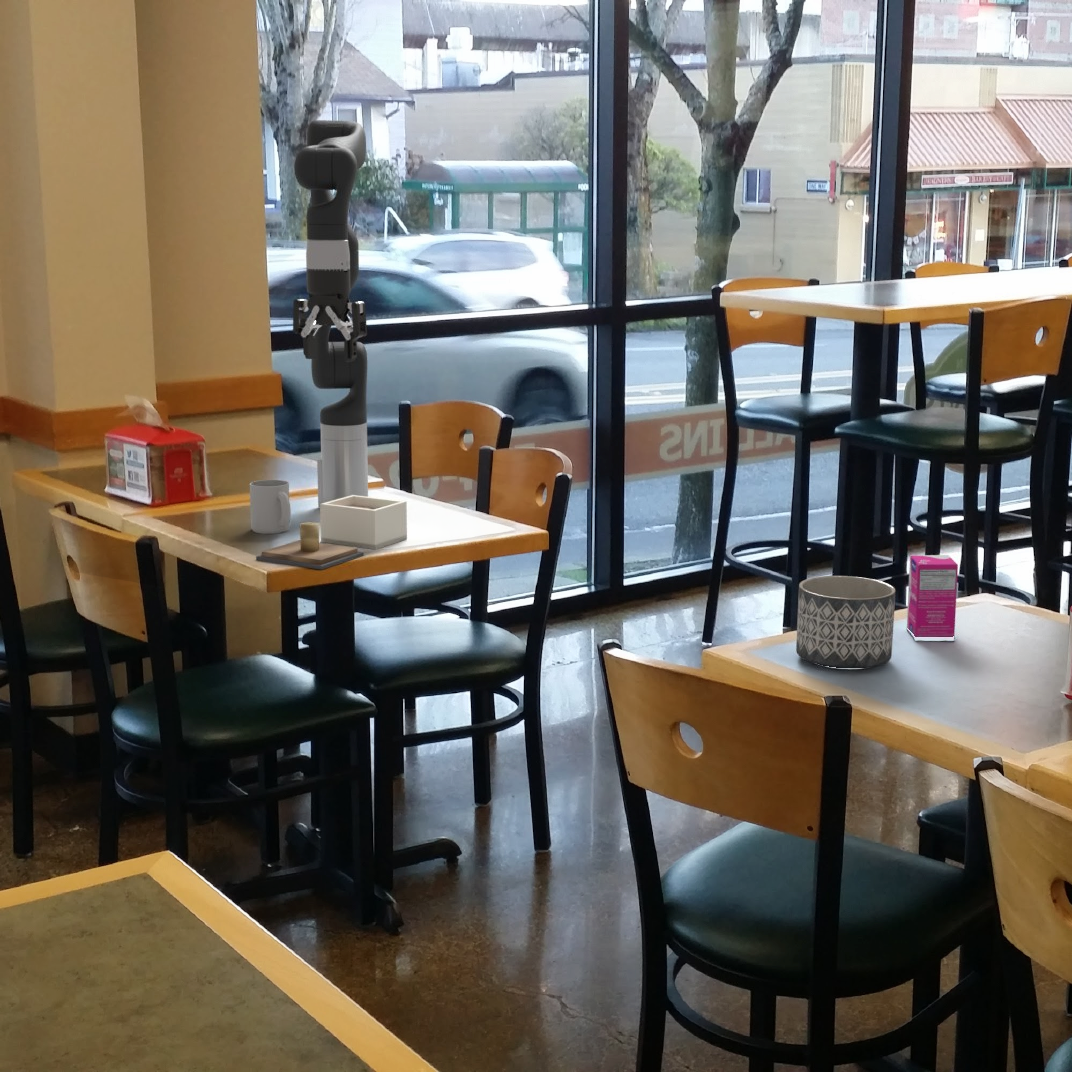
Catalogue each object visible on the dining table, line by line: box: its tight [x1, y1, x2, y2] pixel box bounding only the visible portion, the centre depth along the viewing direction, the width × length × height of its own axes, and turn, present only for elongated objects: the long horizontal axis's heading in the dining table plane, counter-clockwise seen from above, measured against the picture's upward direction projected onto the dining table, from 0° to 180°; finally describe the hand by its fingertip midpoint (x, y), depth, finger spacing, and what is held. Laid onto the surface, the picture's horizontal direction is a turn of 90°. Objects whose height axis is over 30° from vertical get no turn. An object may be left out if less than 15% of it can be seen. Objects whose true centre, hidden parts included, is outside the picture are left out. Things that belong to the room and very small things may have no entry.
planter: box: [795, 575, 896, 669], centre depth 203 cm, size 13×13×10 cm
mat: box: [255, 551, 365, 570], centre depth 261 cm, size 14×12×1 cm
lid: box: [261, 521, 359, 565], centre depth 261 cm, size 13×11×5 cm
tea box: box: [319, 495, 408, 550], centre depth 274 cm, size 12×10×7 cm
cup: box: [249, 479, 292, 535], centre depth 281 cm, size 7×10×9 cm
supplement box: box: [906, 554, 959, 637], centre depth 215 cm, size 6×6×12 cm
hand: (330, 360), depth 265 cm, fingers open, 8 cm apart
